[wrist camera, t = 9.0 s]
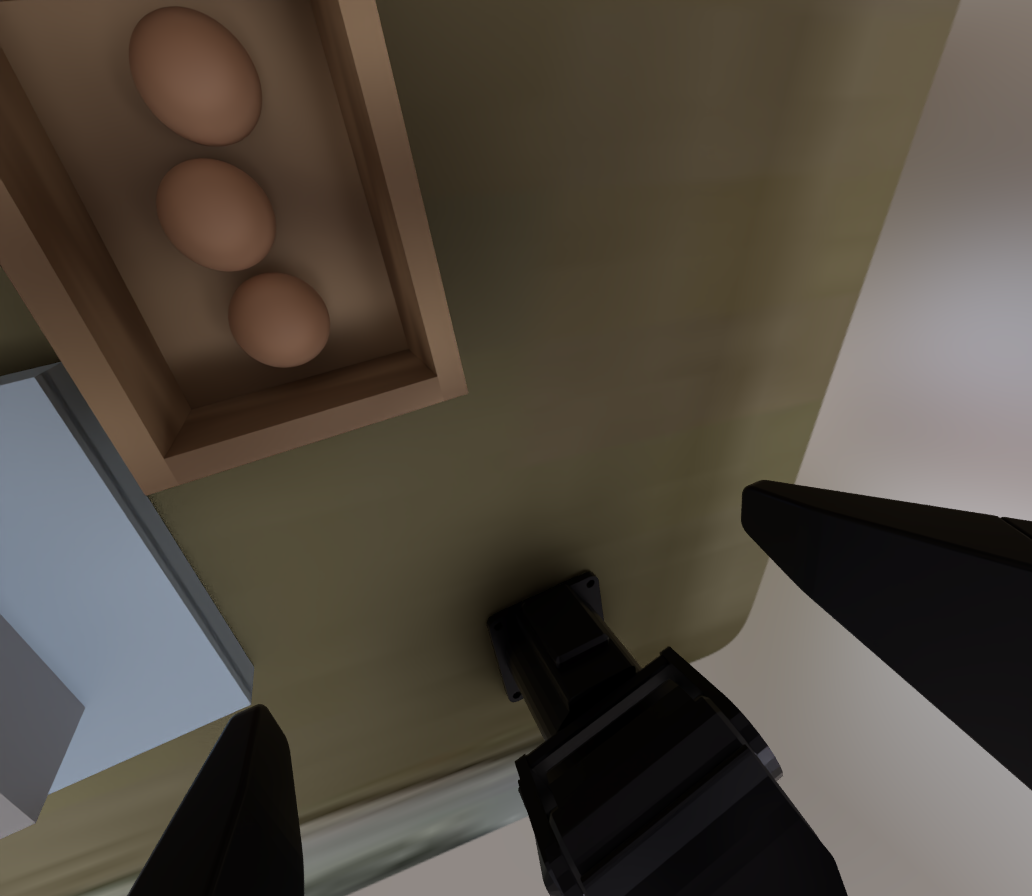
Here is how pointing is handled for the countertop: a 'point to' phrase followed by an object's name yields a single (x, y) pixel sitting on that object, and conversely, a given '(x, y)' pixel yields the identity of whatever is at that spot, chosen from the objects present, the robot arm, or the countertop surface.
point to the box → (219, 224)
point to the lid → (92, 606)
